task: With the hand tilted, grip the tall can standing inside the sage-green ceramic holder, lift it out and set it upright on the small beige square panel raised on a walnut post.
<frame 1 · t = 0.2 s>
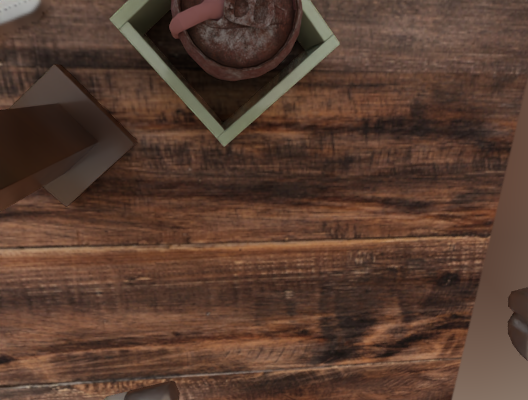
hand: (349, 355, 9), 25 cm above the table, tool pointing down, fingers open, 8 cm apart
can: (227, 42, 29), resting in holder
holder: (227, 42, 29), on the table
post: (66, 137, 30), on the table
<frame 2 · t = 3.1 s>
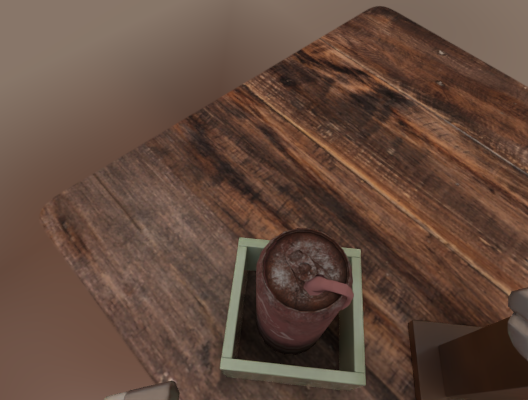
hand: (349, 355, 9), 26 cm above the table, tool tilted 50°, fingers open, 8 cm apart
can: (290, 321, 34), resting in holder
holder: (290, 321, 34), on the table
post: (458, 374, 32), on the table
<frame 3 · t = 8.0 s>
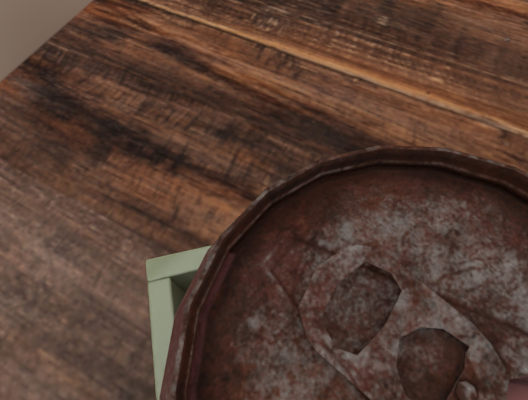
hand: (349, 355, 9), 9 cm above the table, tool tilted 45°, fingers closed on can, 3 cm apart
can: (318, 392, 16), resting in holder, touching gripper
holder: (320, 387, 16), on the table
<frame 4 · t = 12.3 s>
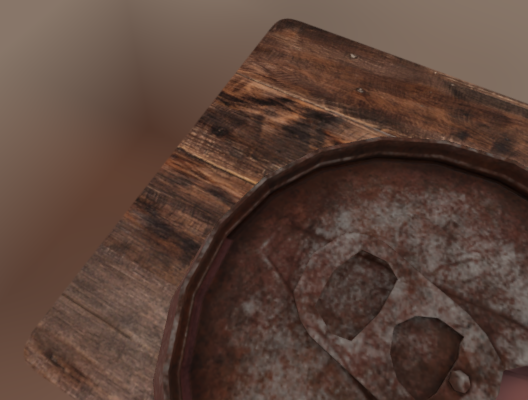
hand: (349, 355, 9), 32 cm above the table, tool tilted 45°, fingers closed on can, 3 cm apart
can: (315, 393, 16), point 23 cm above the table, touching gripper
when the fingers open (37 cm above the table, at t = 17.2 s): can stays where it is, resting on beige square panel.
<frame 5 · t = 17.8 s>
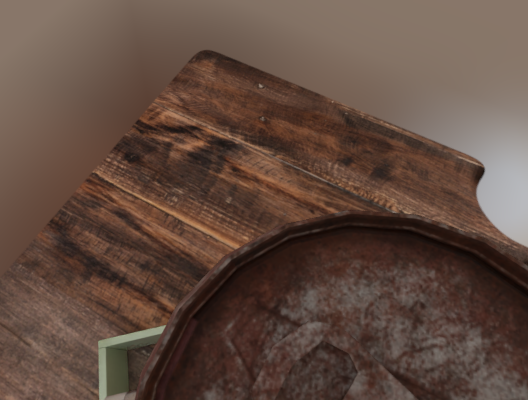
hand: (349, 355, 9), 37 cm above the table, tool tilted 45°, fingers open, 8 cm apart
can: (311, 396, 16), point 28 cm above the table, touching beige square panel
holder: (167, 382, 42), on the table
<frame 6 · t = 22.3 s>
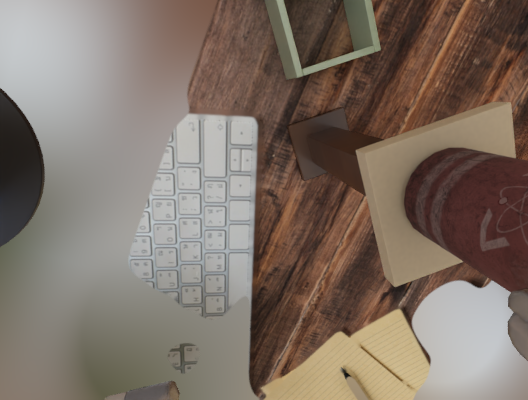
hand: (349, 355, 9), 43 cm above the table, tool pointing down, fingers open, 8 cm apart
beige square panel: (436, 193, 26), resting on post
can: (440, 193, 24), point 28 cm above the table, touching beige square panel
holder: (313, 25, 47), on the table
post: (320, 143, 51), on the table
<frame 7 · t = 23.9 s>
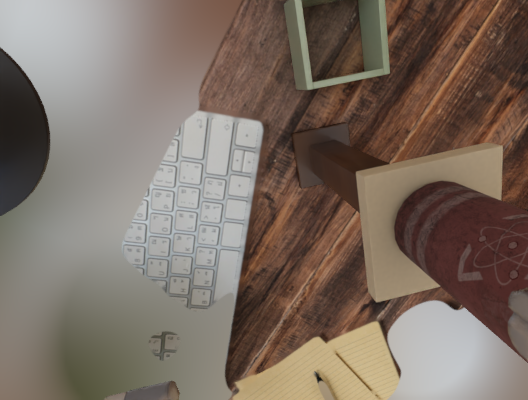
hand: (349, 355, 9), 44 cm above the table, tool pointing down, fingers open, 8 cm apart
beige square panel: (425, 220, 27), resting on post
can: (428, 221, 26), point 28 cm above the table, touching beige square panel
holder: (328, 41, 48), on the table
post: (321, 154, 53), on the table
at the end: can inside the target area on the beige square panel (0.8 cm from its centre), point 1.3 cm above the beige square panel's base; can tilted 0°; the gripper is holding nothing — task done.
